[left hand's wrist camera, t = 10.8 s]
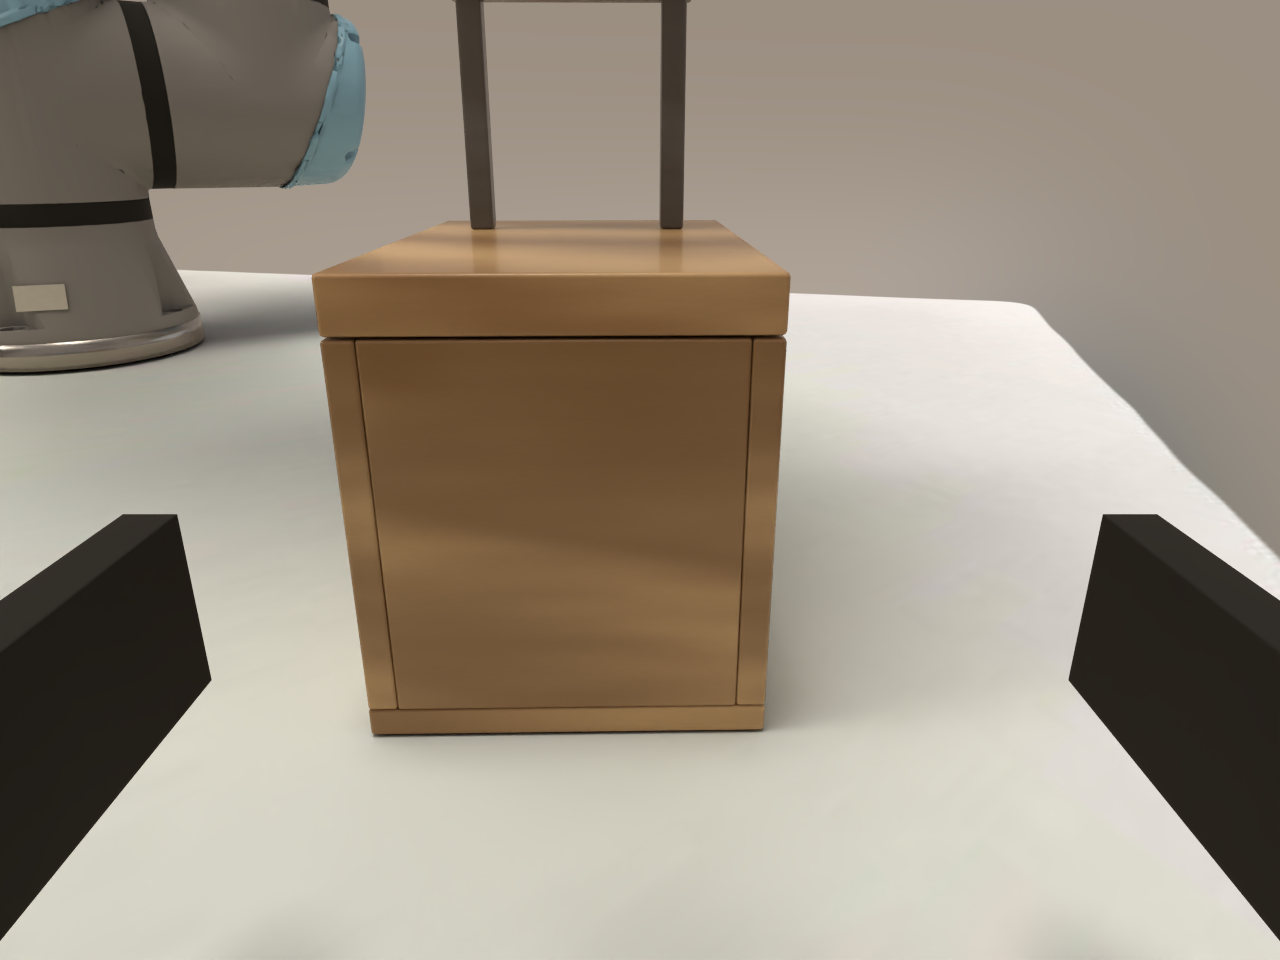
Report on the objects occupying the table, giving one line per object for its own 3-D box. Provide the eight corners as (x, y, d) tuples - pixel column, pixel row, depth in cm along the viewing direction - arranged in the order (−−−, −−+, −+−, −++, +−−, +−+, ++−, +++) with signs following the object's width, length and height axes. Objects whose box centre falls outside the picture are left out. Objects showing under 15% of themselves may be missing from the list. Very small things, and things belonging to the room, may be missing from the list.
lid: (449, 258, 30) (424, -56, 27) (716, 257, 30) (725, -54, 27) (317, 337, 17) (239, -253, 14) (787, 335, 17) (823, -248, 14)
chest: (465, 514, 33) (446, 261, 30) (710, 512, 33) (718, 260, 30) (371, 735, 21) (318, 340, 17) (763, 730, 21) (787, 338, 17)
